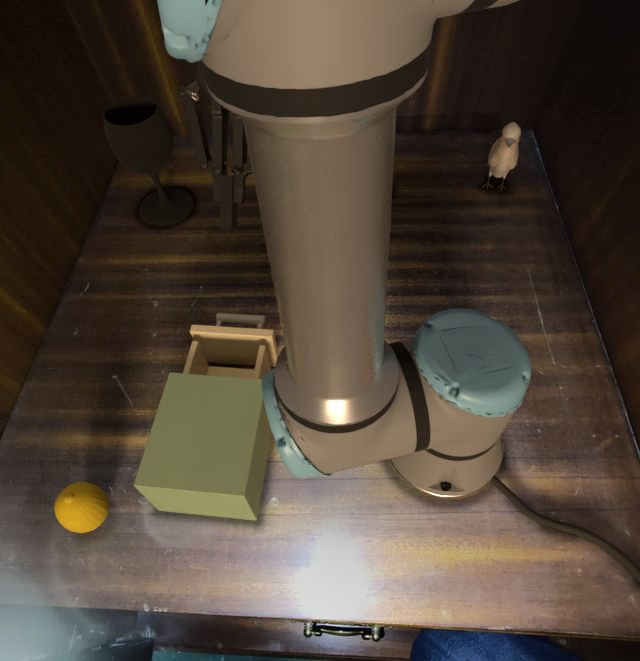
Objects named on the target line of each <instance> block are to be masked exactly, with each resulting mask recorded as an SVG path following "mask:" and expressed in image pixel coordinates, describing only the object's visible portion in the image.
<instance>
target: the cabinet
mask: <svg viewBox="0 0 640 661" xmlns="http://www.w3.org/2000/svg"><path fill="white" fill-rule="evenodd" d="M272 436H273V434H272V431H271V428H270V425H269V421H268V417H267V414H266V409H265V405H264V400H263V394H262V379H252V378H238V377H225V376H211V375H198V374H184V373H183V372H169V373H168V375H167V378H166V382H165V384H164V388H163V391H162V394H161V397H160V400H159V403H158V407H157V410H156V413H155V416H154V419H153V422H152V425H151V429H150V432H149V435H148V438H147V441H146V445H145V448H144V451H143V454H142V457H141V460H140V463H139V466H138V470H137V473H136V476H135V479H134V481H133V487H135V489H136V490H137V491H138V492H139V493H140V494H141V495H142V496H143V497H144V498H145V499H146V500H147V501H148V502H149V503H150V504H151V505H152V506H153V507H154V508H156V509H157V510H158V511H159V512H167V513H178V514H186V515H187V514H188V515H197V516H198V515H199V516H207V517H217V518H218V517H219V518H228V519H237V520H246V521H247V520H248V521H254V522H255V521H258V517H259V512H260V505H261V499H262V494H263V488H264V483H265V476H266V470H267V466H268V459H269V452H270V449H271V442H272Z"/></svg>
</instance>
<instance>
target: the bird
mask: <svg viewBox="0 0 640 661" xmlns="http://www.w3.org/2000/svg"><path fill="white" fill-rule="evenodd" d="M521 135H522V129H521V127H520V126H519V125H518V123H516V122H515V121H512V122H509V123H507V124H506V125H505V126H504V127H503V128H502V130H501V134H500V137H498V139H497V140H496V141H495V142H494V143H493V145H492V146H491V148H490V151H489V152H488V153H489V154H488V156H487V157H488V158H487V165H488V166H489V171H488V180H487V182H485V183H484V184H483V185H482V187H481V188H484V187H485V186H486V190H488V189H489V187H491V189H492V190H493V189H494V187H493V185H491V182H490V180H491V177H492V176H493V177H495V178H497V179H500V178H502V181H501V184H499V185H498V186H497V187H496V189H495V190H498V189H500V192H502V190H503V189H504V190H505V191H506V192H507V191H508V190H507V188H506V187H505V186H504V182H505V179H506V178H507V176H508V173H509V172H510V170H513V169H515V168H516V166H517V164H518V161H519V160H518V159H519V142H520V140H521Z"/></svg>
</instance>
